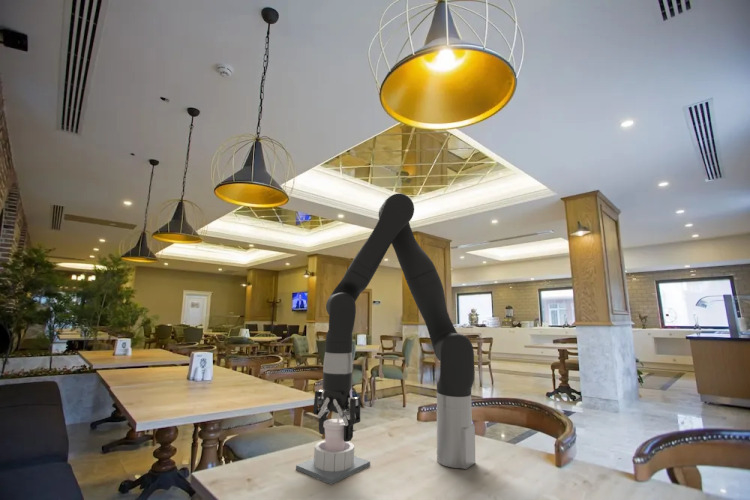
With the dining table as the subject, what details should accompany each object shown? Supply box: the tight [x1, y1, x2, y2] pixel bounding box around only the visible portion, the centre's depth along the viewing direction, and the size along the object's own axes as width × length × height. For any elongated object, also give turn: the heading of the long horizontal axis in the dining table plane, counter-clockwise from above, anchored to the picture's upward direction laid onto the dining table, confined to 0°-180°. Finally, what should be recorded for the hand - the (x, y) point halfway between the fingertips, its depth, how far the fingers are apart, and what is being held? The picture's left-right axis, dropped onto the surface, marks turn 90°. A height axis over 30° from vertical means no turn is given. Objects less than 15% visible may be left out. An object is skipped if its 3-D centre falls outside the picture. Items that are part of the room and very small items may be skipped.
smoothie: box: [323, 413, 345, 452], centre depth 93 cm, size 6×6×14 cm
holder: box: [295, 440, 371, 485], centre depth 92 cm, size 12×14×5 cm
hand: (335, 437), depth 93 cm, fingers open, 8 cm apart
